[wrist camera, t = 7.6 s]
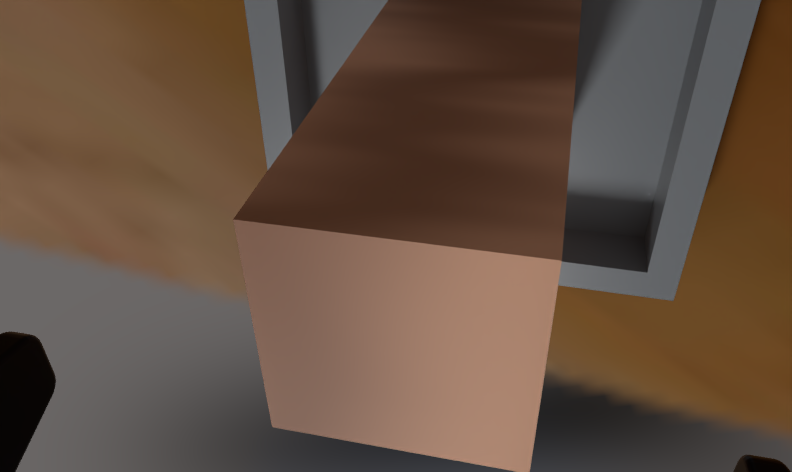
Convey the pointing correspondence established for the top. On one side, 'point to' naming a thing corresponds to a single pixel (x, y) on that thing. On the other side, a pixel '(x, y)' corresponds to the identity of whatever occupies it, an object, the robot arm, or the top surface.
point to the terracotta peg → (420, 233)
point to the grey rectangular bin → (592, 118)
